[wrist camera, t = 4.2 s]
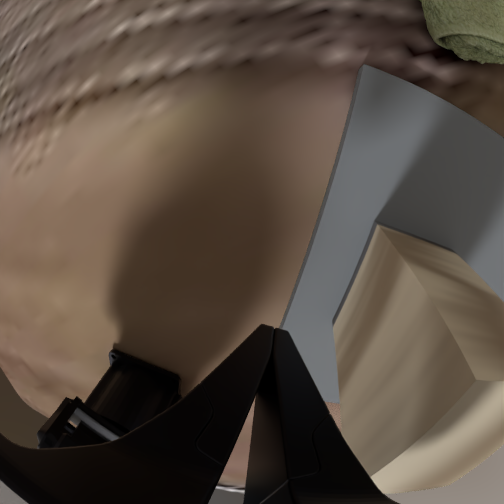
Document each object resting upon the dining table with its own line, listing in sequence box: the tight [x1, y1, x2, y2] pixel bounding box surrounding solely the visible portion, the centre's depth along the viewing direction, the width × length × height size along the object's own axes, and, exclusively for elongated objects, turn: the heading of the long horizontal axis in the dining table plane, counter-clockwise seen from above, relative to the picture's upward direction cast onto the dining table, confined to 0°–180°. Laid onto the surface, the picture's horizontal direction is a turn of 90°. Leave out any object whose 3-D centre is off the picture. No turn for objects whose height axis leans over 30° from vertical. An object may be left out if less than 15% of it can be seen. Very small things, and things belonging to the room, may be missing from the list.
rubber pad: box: [279, 64, 504, 404], centre depth 14 cm, size 22×20×1 cm
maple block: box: [332, 221, 504, 494], centre depth 9 cm, size 5×6×10 cm
